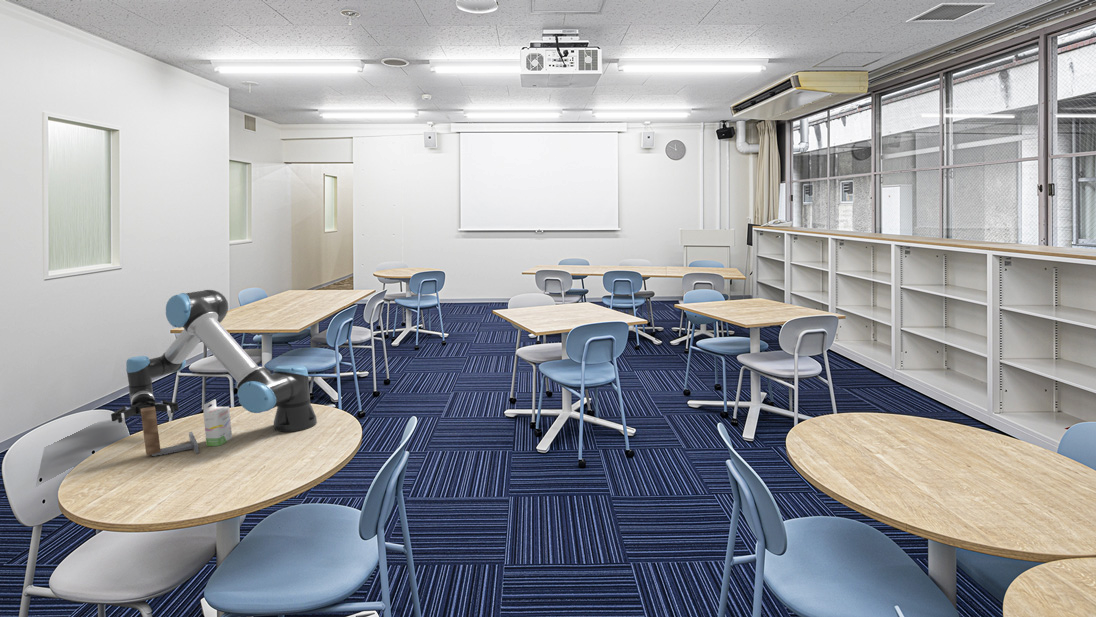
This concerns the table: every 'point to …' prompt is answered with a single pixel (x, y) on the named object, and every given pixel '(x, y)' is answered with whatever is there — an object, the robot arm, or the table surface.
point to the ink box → (216, 424)
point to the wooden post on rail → (153, 437)
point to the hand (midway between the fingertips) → (147, 417)
